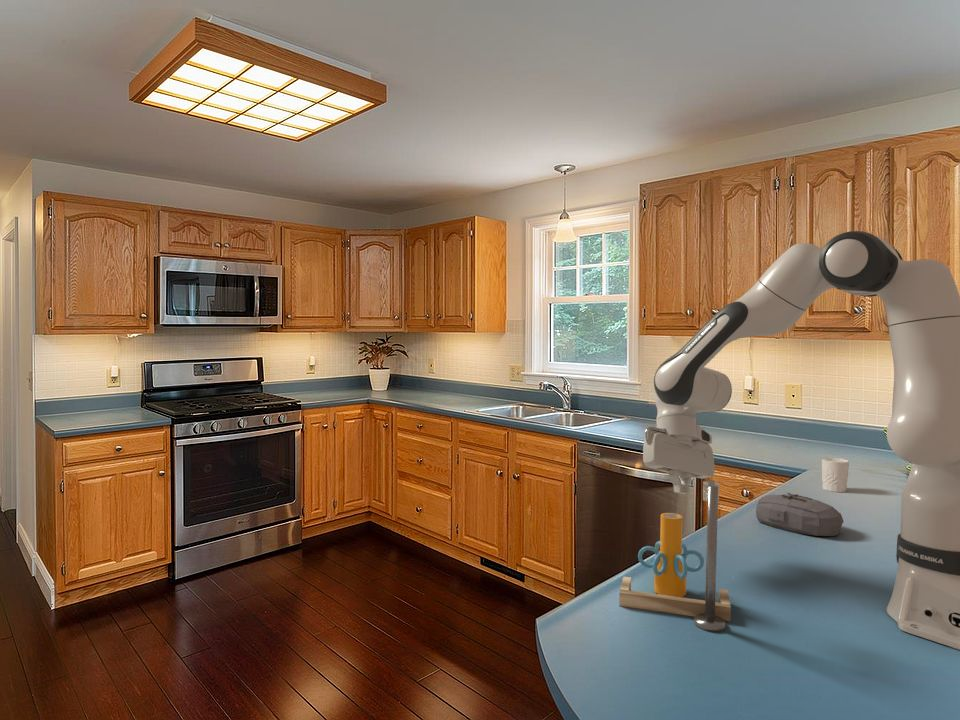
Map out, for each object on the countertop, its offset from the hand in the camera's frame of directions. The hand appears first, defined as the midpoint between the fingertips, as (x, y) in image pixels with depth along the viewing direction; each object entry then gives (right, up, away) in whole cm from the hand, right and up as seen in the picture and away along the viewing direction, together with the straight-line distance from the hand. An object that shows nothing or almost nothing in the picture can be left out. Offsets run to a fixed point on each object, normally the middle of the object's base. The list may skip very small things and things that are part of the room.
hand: (681, 493), depth 137 cm
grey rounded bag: (+40, -15, +25) cm, 49 cm away
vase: (-8, -16, -17) cm, 25 cm away
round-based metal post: (-4, -16, -28) cm, 33 cm away
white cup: (+72, -14, +67) cm, 99 cm away
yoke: (-9, -16, -23) cm, 29 cm away
